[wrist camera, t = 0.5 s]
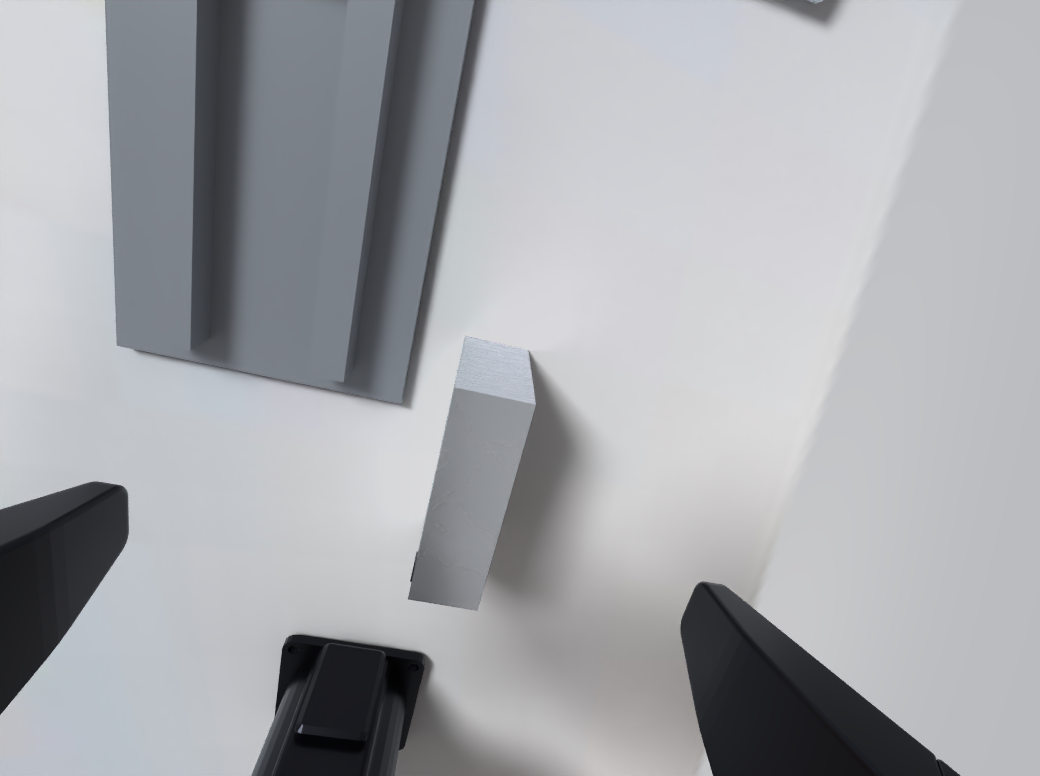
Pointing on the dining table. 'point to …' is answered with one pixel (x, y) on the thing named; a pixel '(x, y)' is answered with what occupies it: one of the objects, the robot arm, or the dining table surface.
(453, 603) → the block
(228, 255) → the dock
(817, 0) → the external hard drive
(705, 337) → the dining table surface
